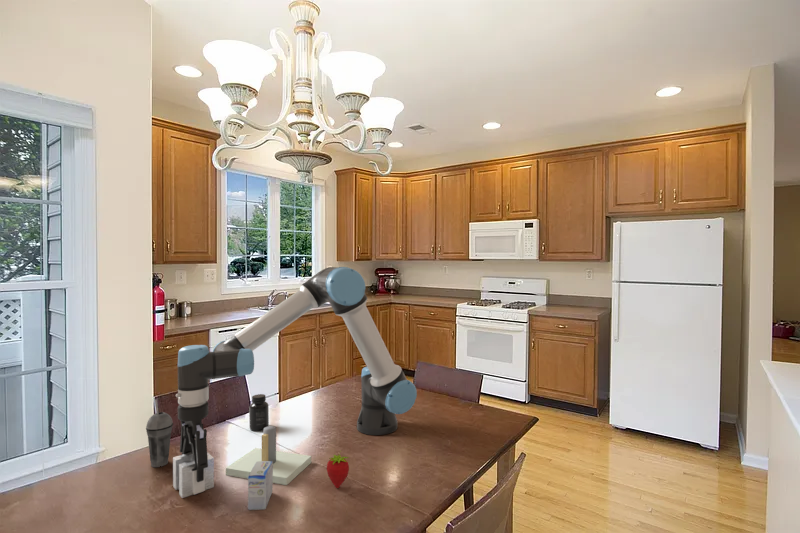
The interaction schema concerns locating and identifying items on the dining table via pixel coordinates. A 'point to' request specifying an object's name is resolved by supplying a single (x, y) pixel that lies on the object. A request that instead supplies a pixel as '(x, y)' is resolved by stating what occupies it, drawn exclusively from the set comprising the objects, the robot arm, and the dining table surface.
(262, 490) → the medicine box
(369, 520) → the dining table surface
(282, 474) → the shaft stand
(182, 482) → the keyed collar
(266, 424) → the supplement bottle
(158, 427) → the beverage cup
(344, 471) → the strawberry
